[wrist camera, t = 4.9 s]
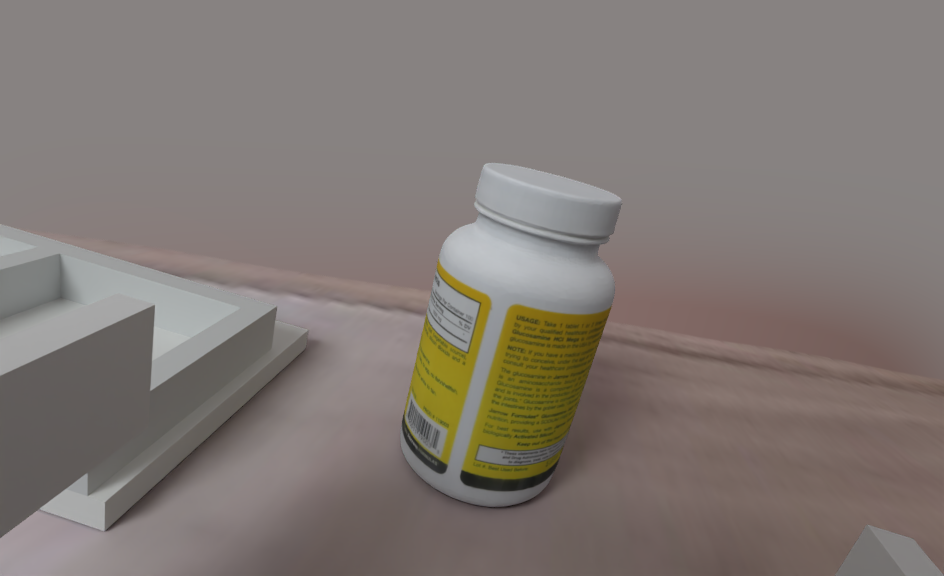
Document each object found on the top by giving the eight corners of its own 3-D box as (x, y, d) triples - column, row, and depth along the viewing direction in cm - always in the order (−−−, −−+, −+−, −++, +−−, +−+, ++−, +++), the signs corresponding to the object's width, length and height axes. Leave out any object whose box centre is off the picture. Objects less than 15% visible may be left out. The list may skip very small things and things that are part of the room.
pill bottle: (562, 445, 23) (651, 198, 20) (530, 542, 18) (645, 221, 14) (434, 392, 25) (493, 153, 21) (365, 466, 19) (431, 157, 16)
